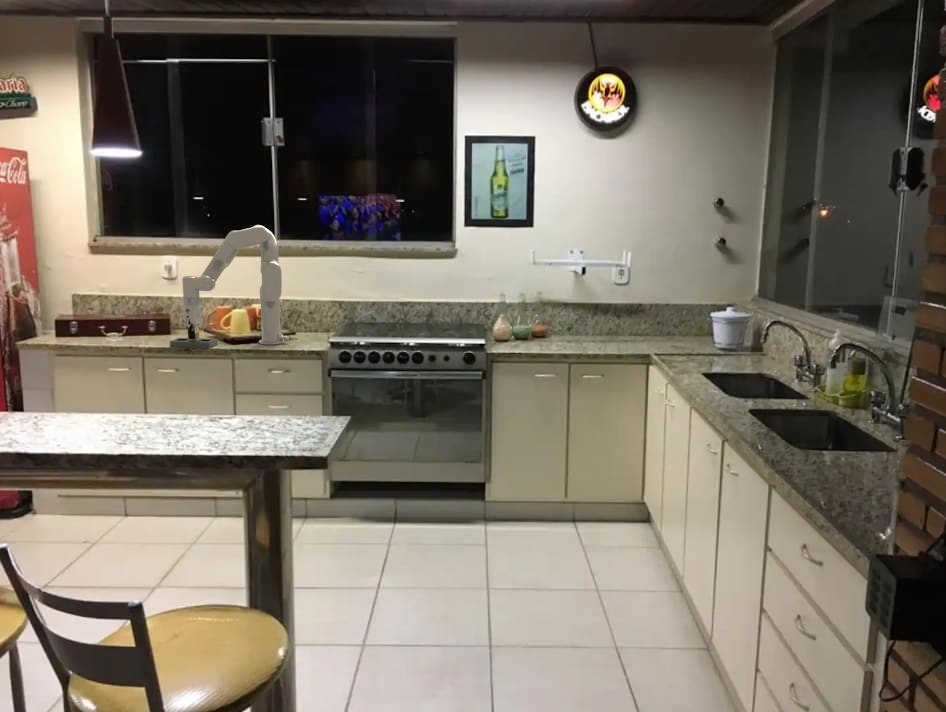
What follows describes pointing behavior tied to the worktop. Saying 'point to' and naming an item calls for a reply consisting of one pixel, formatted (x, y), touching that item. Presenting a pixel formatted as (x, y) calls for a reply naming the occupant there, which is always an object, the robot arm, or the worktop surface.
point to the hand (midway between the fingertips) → (193, 337)
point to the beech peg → (196, 329)
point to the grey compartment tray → (193, 343)
